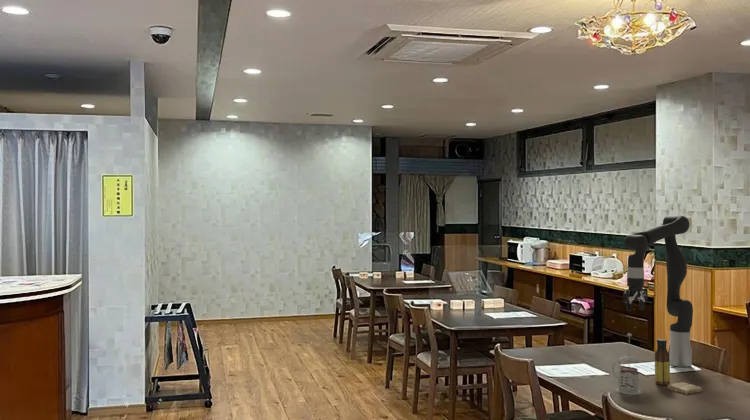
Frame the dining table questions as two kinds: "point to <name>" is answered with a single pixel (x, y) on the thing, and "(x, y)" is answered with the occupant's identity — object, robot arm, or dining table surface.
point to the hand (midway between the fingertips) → (635, 310)
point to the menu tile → (684, 387)
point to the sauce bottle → (662, 363)
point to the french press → (628, 375)
